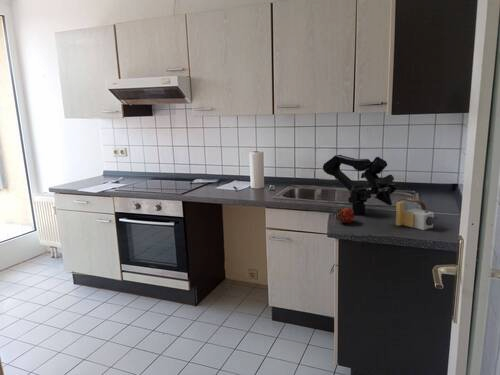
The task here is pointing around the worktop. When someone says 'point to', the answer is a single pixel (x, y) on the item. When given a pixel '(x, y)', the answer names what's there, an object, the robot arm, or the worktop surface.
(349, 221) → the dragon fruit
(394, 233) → the worktop surface
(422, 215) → the camera housing
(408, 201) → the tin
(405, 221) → the side door
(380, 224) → the worktop surface
